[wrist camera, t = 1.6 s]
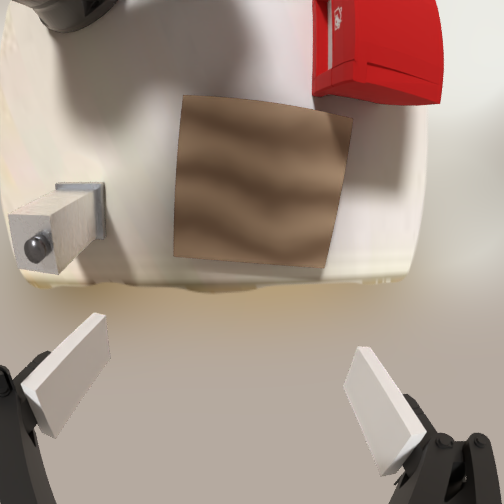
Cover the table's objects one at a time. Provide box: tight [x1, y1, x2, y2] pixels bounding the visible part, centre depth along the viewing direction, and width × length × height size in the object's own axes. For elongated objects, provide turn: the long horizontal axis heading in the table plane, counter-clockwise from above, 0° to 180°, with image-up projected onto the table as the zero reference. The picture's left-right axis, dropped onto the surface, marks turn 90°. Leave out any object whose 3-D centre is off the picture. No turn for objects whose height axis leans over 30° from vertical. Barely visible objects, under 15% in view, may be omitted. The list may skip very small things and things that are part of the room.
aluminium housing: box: [8, 182, 106, 275], centre depth 30 cm, size 8×8×15 cm
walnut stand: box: [174, 95, 353, 268], centre depth 35 cm, size 20×20×5 cm
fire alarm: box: [312, 0, 444, 106], centre depth 23 cm, size 16×11×15 cm
